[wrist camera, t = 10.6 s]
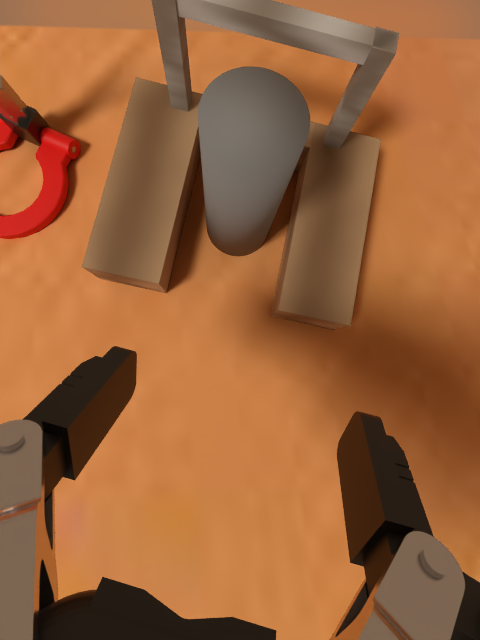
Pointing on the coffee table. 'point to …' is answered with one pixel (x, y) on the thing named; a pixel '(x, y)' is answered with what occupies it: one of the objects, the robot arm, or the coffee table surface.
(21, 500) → the robot arm
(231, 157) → the grey tapered capsule
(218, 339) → the coffee table surface
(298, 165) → the wooden gate frame
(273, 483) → the coffee table surface
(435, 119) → the coffee table surface
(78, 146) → the tow hook
